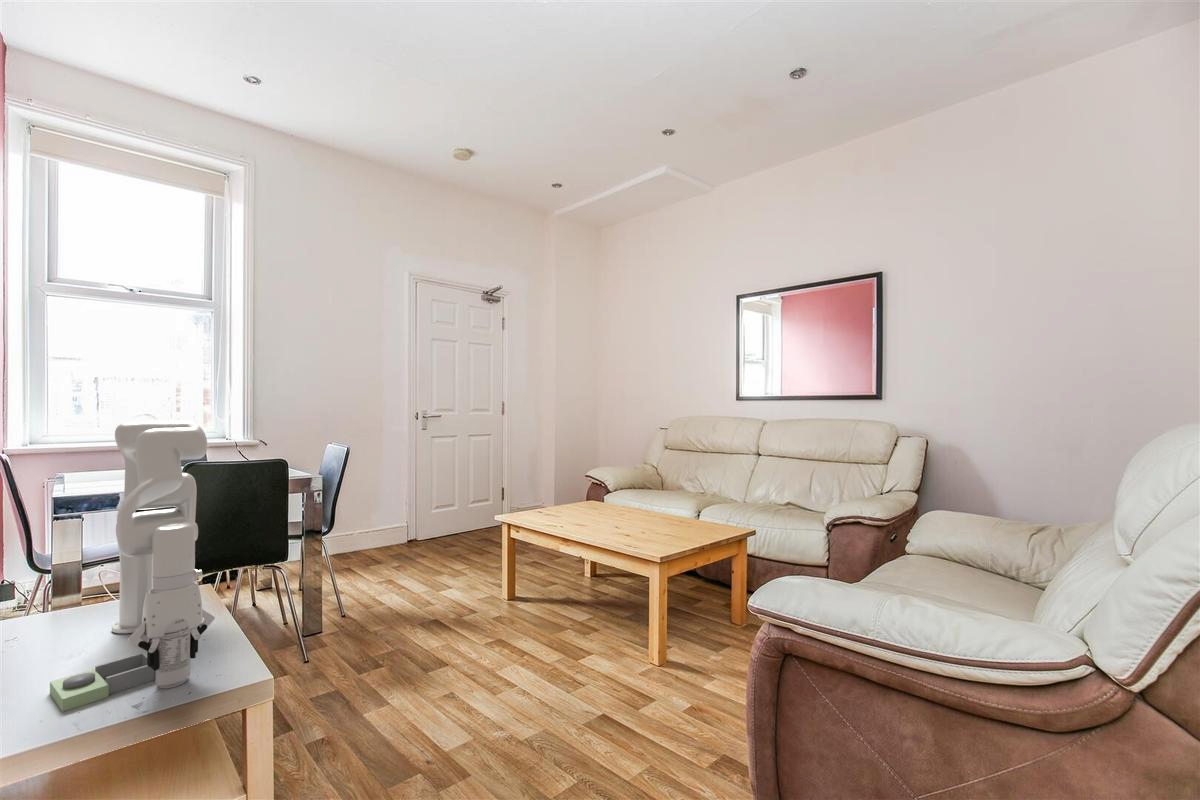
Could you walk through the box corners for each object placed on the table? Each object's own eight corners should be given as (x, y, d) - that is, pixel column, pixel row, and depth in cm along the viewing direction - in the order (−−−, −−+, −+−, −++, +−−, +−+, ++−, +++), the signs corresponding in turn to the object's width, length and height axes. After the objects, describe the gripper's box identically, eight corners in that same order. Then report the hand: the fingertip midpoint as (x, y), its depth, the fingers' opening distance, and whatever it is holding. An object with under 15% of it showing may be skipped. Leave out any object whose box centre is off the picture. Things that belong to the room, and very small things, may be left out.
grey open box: (49, 693, 116) (50, 676, 116) (143, 665, 129) (143, 650, 129) (62, 711, 109) (62, 694, 109) (160, 679, 122) (160, 664, 122)
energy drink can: (190, 673, 125) (191, 607, 125) (189, 684, 120) (189, 615, 120) (157, 680, 121) (157, 613, 122) (153, 692, 116) (154, 621, 117)
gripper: (212, 568, 130) (212, 644, 130) (118, 588, 116) (117, 673, 116) (225, 574, 126) (224, 652, 125) (128, 595, 112) (127, 683, 111)
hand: (173, 661), depth 121 cm, fingers closed on energy drink can, 6 cm apart
